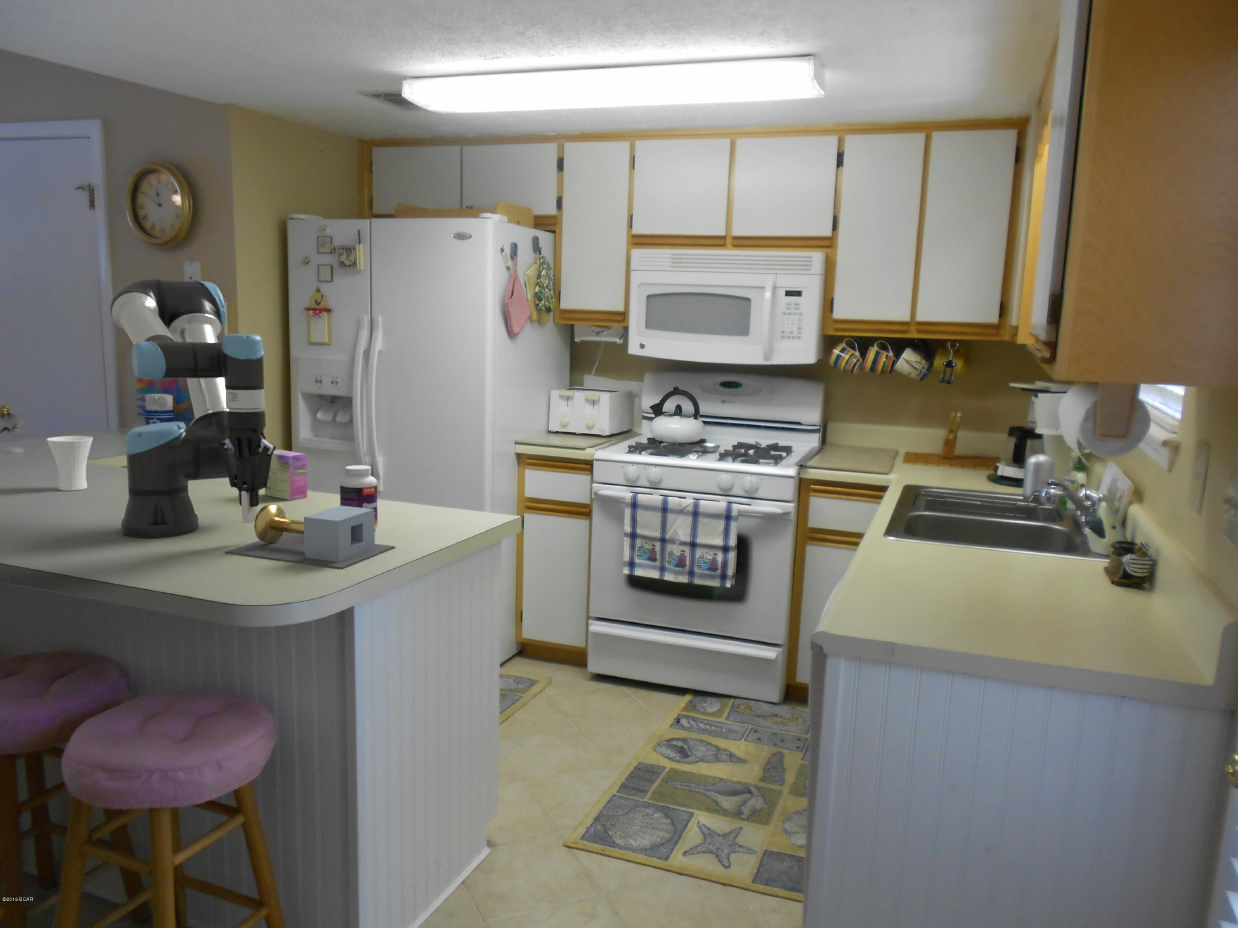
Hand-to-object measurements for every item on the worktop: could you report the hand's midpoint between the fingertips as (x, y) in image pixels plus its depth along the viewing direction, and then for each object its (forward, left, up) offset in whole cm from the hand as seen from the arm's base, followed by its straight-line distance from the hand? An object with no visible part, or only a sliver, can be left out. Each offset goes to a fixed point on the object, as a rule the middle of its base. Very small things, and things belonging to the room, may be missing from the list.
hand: (249, 521), depth 188 cm
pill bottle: (+13, +19, -5) cm, 24 cm away
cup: (-81, +25, -5) cm, 84 cm away
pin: (+14, 0, -4) cm, 14 cm away
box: (-26, +42, -5) cm, 49 cm away
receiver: (+22, 0, -5) cm, 23 cm away
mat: (+15, 0, -5) cm, 16 cm away
